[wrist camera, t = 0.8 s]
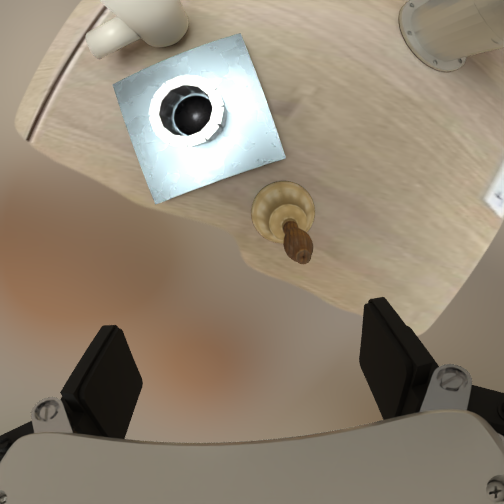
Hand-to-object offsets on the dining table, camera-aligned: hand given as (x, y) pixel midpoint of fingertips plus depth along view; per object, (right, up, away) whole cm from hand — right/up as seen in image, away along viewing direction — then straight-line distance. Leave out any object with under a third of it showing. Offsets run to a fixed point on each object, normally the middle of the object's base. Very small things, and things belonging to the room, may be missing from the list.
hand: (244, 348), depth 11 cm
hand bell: (+4, +9, +29) cm, 31 cm away
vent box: (-6, +20, +24) cm, 32 cm away
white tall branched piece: (-13, +31, +20) cm, 39 cm away
